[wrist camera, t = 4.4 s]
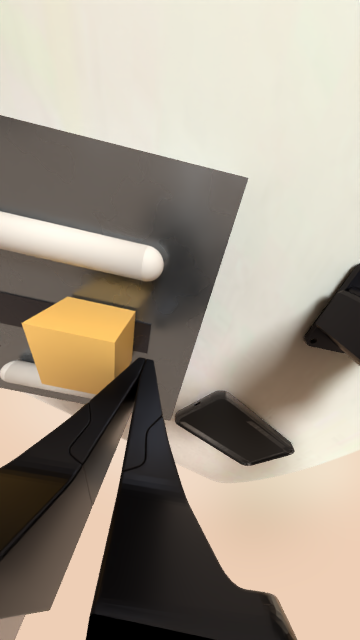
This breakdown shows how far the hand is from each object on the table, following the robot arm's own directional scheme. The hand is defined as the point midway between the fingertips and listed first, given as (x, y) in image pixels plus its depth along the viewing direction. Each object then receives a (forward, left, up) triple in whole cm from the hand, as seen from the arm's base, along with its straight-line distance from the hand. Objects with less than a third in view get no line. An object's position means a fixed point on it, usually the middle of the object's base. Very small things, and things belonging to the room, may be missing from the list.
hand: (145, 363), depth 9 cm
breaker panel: (+5, 0, -5) cm, 7 cm away
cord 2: (+5, -5, -2) cm, 8 cm away
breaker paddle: (+3, 0, -2) cm, 4 cm away
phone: (-12, +14, -6) cm, 19 cm away
